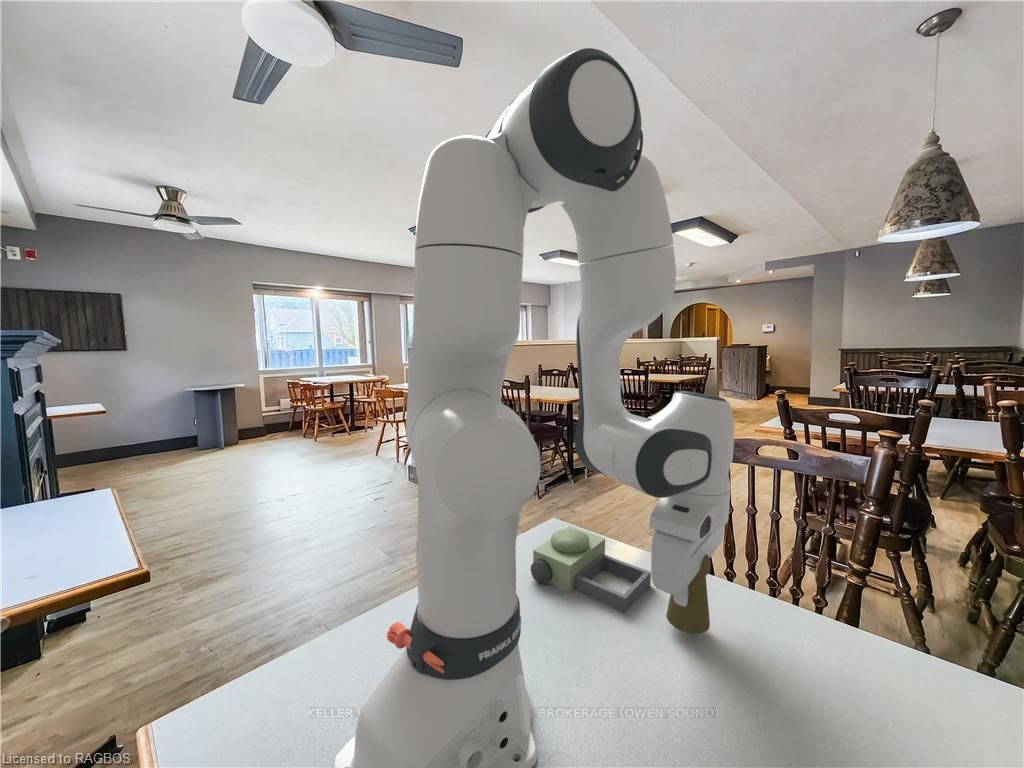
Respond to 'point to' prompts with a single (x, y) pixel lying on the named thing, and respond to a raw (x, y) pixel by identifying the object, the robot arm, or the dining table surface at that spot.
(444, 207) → the robot arm
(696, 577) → the brown knobbed peg
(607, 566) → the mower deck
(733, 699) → the dining table surface
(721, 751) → the dining table surface
